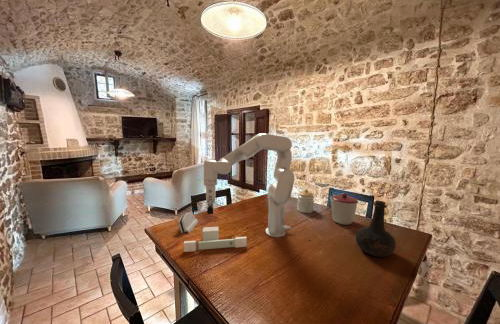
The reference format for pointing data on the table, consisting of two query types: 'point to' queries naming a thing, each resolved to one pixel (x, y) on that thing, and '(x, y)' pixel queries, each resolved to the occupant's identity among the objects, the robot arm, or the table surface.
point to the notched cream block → (192, 244)
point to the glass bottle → (376, 234)
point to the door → (215, 244)
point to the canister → (343, 208)
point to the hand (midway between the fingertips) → (210, 210)
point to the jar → (305, 201)
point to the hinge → (187, 222)
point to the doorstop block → (210, 233)
